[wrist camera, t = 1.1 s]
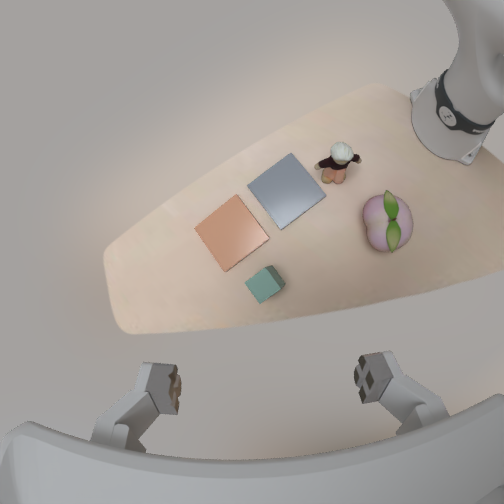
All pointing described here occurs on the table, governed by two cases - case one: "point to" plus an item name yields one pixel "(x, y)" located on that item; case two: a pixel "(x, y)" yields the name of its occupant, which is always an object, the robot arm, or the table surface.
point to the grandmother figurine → (337, 163)
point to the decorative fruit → (387, 222)
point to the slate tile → (286, 191)
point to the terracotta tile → (231, 233)
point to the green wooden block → (265, 284)
